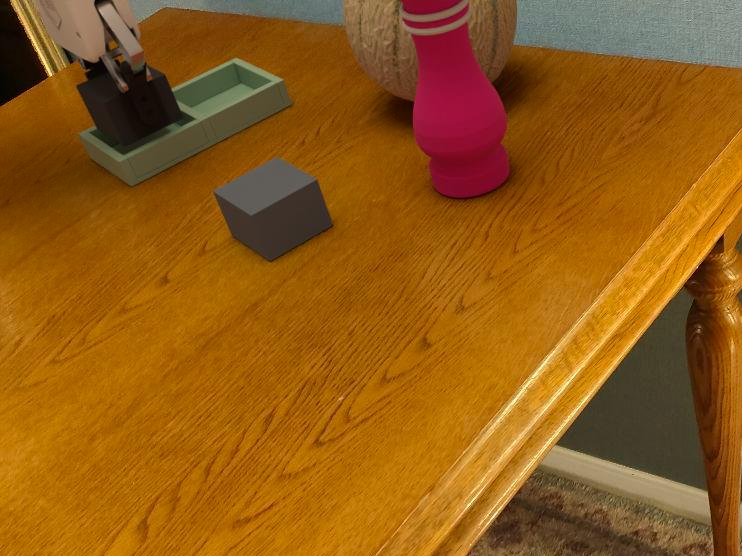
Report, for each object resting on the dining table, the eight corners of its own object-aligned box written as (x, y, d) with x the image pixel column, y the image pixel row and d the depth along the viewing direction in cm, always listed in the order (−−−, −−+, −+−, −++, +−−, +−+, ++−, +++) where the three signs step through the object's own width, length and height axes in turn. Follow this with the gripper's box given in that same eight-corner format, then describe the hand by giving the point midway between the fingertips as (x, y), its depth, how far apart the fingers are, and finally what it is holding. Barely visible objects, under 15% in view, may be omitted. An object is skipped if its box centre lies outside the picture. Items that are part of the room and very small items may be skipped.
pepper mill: (415, 173, 82) (344, -102, 67) (496, 145, 83) (443, -132, 68) (444, 212, 77) (374, -74, 62) (529, 181, 78) (480, -107, 64)
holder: (131, 187, 88) (118, 161, 86) (90, 158, 93) (77, 133, 91) (292, 104, 94) (283, 79, 92) (245, 81, 99) (236, 57, 97)
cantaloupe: (342, 104, 93) (286, -75, 81) (470, 43, 97) (435, -135, 86) (425, 155, 84) (376, -38, 73) (563, 86, 88) (537, -106, 77)
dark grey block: (124, 147, 88) (103, 102, 85) (96, 128, 91) (75, 85, 88) (184, 118, 90) (165, 73, 87) (154, 101, 93) (135, 58, 90)
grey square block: (269, 262, 76) (250, 215, 74) (231, 236, 80) (212, 190, 77) (333, 225, 79) (317, 178, 76) (293, 202, 82) (277, 156, 79)
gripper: (-51, -106, 80) (62, 112, 93) (29, -73, 70) (142, 165, 84) (35, -138, 83) (133, 79, 96) (123, -109, 73) (219, 127, 86)
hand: (136, 117), depth 90 cm, fingers closed on dark grey block, 5 cm apart
